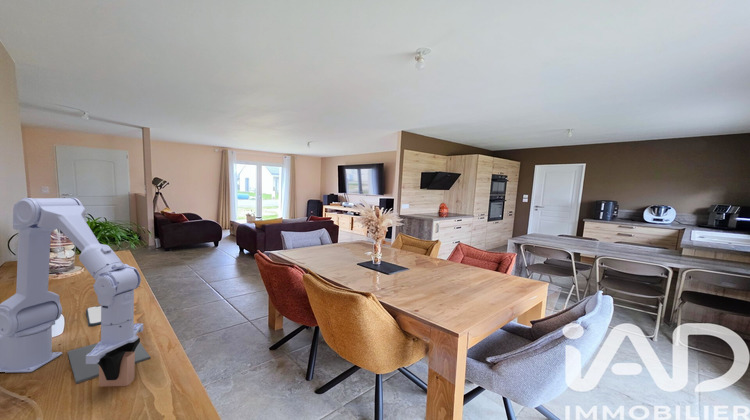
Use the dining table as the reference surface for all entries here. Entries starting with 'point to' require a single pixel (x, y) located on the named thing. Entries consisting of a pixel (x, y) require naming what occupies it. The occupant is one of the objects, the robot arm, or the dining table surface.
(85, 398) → the dining table surface
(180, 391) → the dining table surface
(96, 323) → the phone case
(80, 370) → the mat
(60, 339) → the dining table surface
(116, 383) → the tile
